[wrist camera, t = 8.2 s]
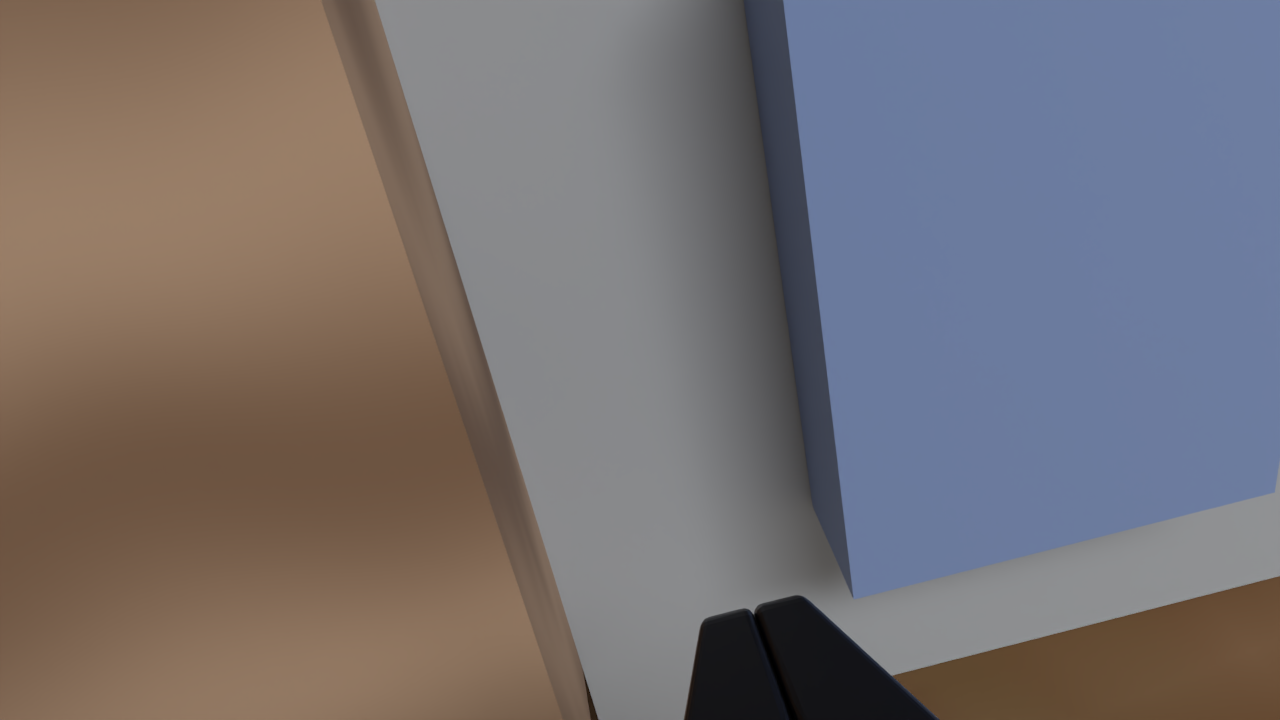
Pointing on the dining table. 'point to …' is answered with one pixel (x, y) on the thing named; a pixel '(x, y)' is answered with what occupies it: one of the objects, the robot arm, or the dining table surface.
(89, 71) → the board
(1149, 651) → the dining table surface
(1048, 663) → the dining table surface
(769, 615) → the robot arm
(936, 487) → the card box
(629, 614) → the mat
